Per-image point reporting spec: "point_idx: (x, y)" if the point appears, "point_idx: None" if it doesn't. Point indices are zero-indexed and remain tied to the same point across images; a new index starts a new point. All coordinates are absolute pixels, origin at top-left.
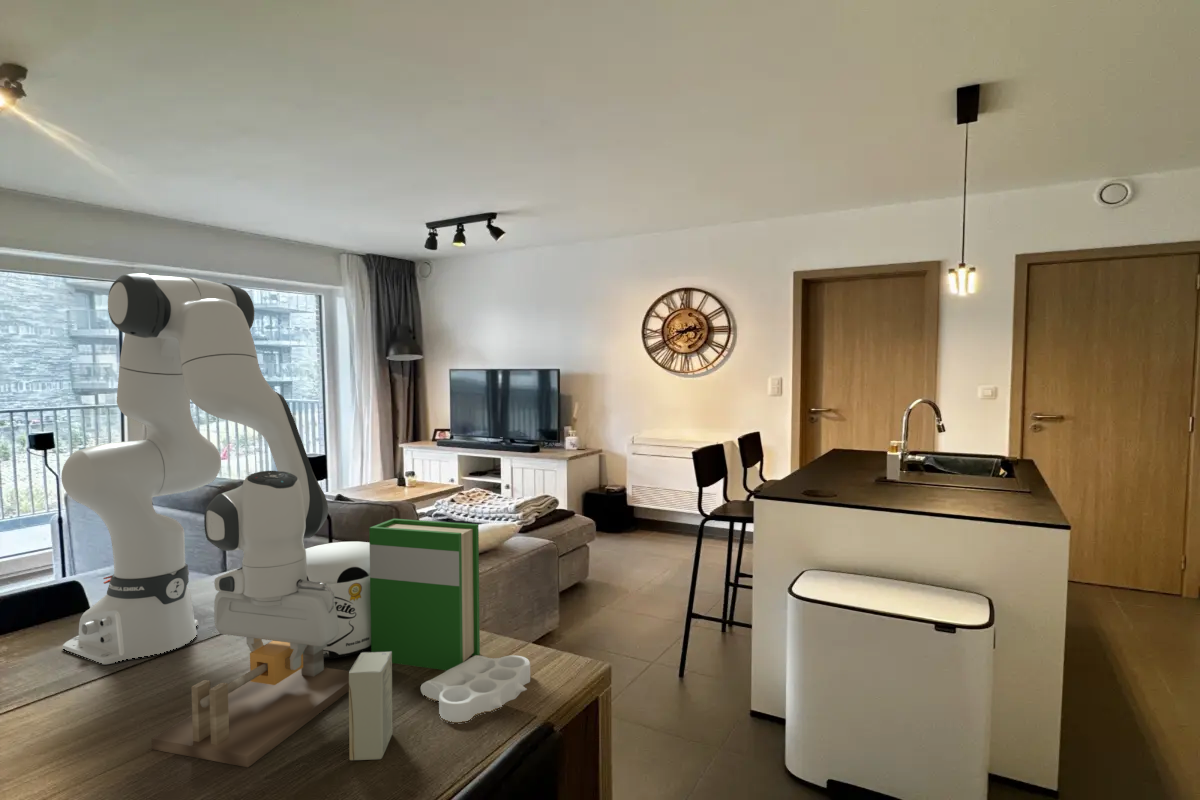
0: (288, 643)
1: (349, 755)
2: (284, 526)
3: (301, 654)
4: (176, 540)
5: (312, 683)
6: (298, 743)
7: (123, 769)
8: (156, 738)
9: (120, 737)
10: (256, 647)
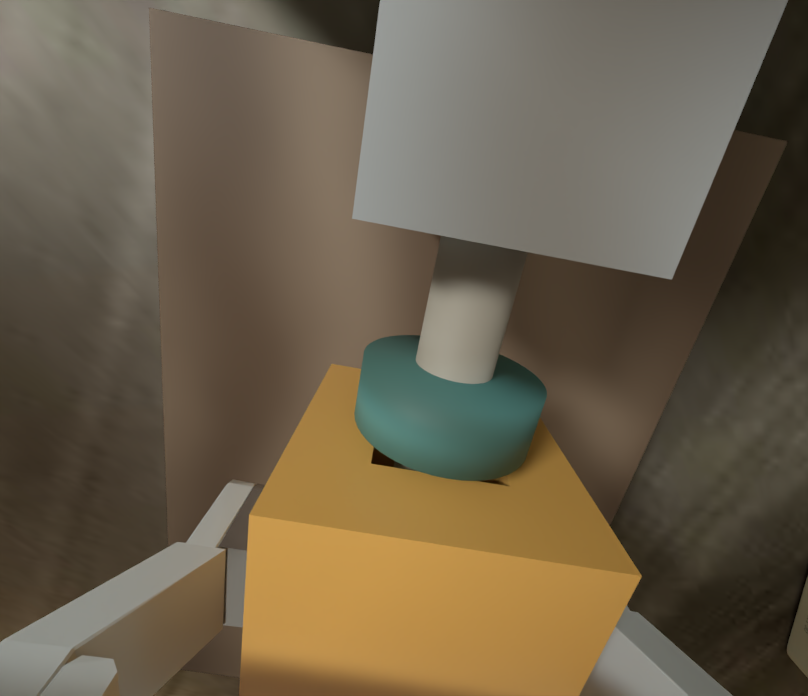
0: (496, 657)
1: (799, 668)
2: None
3: (640, 622)
4: None
5: (523, 305)
6: None
7: (202, 690)
8: (187, 667)
9: (39, 593)
10: (162, 661)
